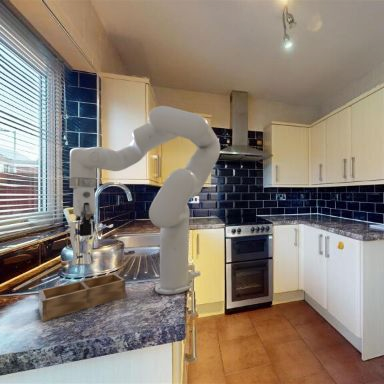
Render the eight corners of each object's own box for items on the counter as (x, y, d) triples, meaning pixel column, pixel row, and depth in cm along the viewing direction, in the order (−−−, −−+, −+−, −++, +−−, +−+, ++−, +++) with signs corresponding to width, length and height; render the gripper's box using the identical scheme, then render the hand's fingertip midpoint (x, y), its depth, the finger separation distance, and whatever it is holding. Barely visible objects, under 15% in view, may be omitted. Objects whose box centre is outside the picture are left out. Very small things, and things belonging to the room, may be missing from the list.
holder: (115, 288, 80) (115, 273, 81) (125, 296, 74) (125, 279, 74) (38, 309, 66) (38, 290, 66) (42, 321, 59) (42, 300, 59)
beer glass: (81, 266, 76) (81, 221, 76) (64, 265, 77) (64, 221, 78) (99, 261, 83) (99, 219, 83) (83, 260, 84) (84, 219, 85)
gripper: (102, 183, 78) (102, 235, 77) (90, 185, 89) (89, 230, 89) (74, 182, 72) (74, 238, 72) (65, 184, 84) (64, 233, 84)
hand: (83, 234), depth 80 cm, fingers closed on beer glass, 7 cm apart
